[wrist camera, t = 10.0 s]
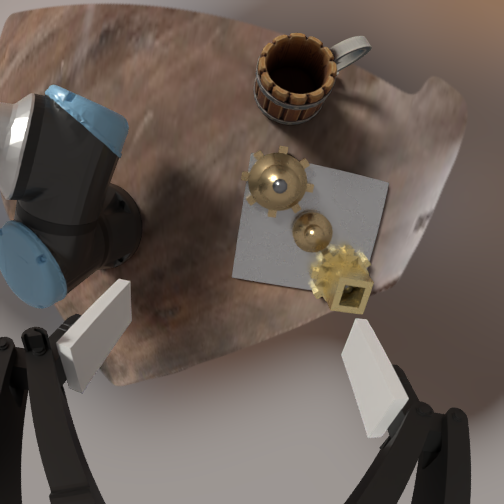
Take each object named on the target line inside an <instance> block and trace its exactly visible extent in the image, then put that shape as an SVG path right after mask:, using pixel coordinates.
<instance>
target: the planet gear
mask: <svg viewBox="0 0 504 504" xmlns="http://www.w3.org/2000/svg"><path fill="white" fill-rule="evenodd" d="M354 250H355V249H354V248H353V247H352V246H350V245H345V244H344V248H343V250H338V249H336V250H334V251H333V252H331V253H330V252H329V250H328V248H327V249H325V250H324V251H322V252H321V253H322V255H323V257H324V258H322V259H321V260H319V261H318V264H317V267H310V272H309V275H310V278H313V279H314V280H313V281H314V284H315V287H314V288H312V291H313V294H314V296H315V297H316V299H319V298H320V297H322V296H323V298H324V299H325V301H327V303H328V306H329V308H330V310H331V311H339V312H348V313H355V314H363V312H364V310H365V307H366V304H367V301H368V298H369V296H370V293H371V290H372V287H373V283H374V282H373V281H372V280H371V278H370V277H369V276H368V275H369V273H368V271H367V269H366V268H367V267H368V266H370V265H371V264H370V262H369V260H368V259H367V257H366V256H365V255H363V256H362V257H359V256H358V254H357V253H355V252H354ZM345 285H349V286H353V289H352V291H351V292H349V293H344V292H343V290H344V287H345Z"/></svg>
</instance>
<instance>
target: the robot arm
mask: <svg viewBox="0 0 504 504" xmlns="http://www.w3.org/2000/svg"><path fill="white" fill-rule="evenodd" d="M45 94H46V95H45V96H42V95H38V94H33V93H31V94H29V95H27V96H26V97H24V98H23V99H21V100H20V101H19V102H17V103H15V104H8V103H2V102H0V191H1V192H2V194H3V195H4V197H5V198H6V199H8V200H17V204H16V211H15V217H14V220H11V221H8V222H7V223H5V225H4V226H3V227H2V228H1V229H0V270H1V273H2V275H3V277H4V278H5V280H6V282H7V284H8V285H9V287H10V288H11V289H12V291H13V292H14V293H15V294H16V295H17V296H18V297H19V298H20V299H21V300H22V301H24V302H25V303H27V304H28V305H30V306H32V307H35V308H46V307H50V306H51V305H53V304H55V303H56V302H58V301H60V300H62V299H64V297H66V295H67V294H68V293H69V292H70V291H71V290H73V289H74V288H75V287H76V286H78V285H79V284H80V283H81V282H83V281H84V280H85V279H86V278H88V277H89V276H90V275H92V274H93V273H94V272H95V271H97V270H101V269H109V268H114V267H117V266H119V265H121V264H123V263H124V262H125V261H127V260H128V259H129V258H130V257H131V256H132V255H133V254H134V253H135V251H136V250H137V248H138V246H139V243H140V240H141V234H142V223H141V217H140V213H139V210H138V208H137V206H136V204H135V202H134V200H133V199H132V198H131V196H130V195H129V194H128V193H127V192H126V191H125V190H123V189H122V188H121V187H119V186H117V185H114V184H111V183H110V182H111V179H112V176H113V173H114V170H115V168H116V165H117V162H118V160H119V158H121V156H122V154H121V151H122V148H123V145H124V142H125V139H126V136H127V134H128V130H129V126H128V122H127V120H126V119H125V118H124V117H123V116H122V115H120V114H118V113H116V112H114V111H112V110H110V109H108V108H106V107H103V106H101V105H99V104H97V103H95V102H93V101H90V100H88V99H86V98H84V97H82V96H79V95H77V94H75V93H73V92H70V91H68V90H66V89H64V88H61V87H59V86H57V85H51V86H50V87H49V88H48V89H47V90H46V92H45ZM131 321H132V315H131V281H127V280H123V279H118V280H117V281H116V282H115V283H114V284H113V285H112V286H111V287H110V288H109V289H108V290H107V291H106V292H105V293H104V294H103V295H102V296H101V297H100V298H99V299H98V300H97V301H96V302H95V303H94V304H93V305H92V306H91V307H90V308H89V309H88V310H87V311H86V312H85V313H84V314H83V315H79V314H75V315H73V316H71V317H69V318H68V319H67V320H66V321H65V322H64V323H63V324H62V325H61V326H60V327H59V329H57V330H56V331H55V332H54V333H53V334H52V335H51V336H50V337H49V338H48V334H47V331H46V330H44V329H43V328H40V327H32V328H29V329H27V330H25V331H24V332H23V334H22V336H21V338H22V342H23V345H24V348H18V347H15V345H14V342H13V340H12V339H10V338H8V337H1V338H0V504H22V496H21V453H22V437H23V426H24V417H25V409H26V402H27V396H28V390H29V396H30V403H31V410H32V417H33V423H34V428H35V433H36V438H37V443H38V447H39V451H40V455H41V459H42V463H43V466H44V470H45V473H46V477H47V480H48V483H49V486H50V490H51V494H50V495H49V498H50V502H51V504H105V502H104V500H103V498H102V496H101V494H100V491H99V489H98V487H97V485H96V483H95V480H94V478H93V476H92V473H91V471H90V469H89V466H88V464H87V462H86V459H85V456H84V453H83V450H82V448H81V445H80V442H79V439H78V436H77V433H76V430H75V427H74V424H73V420H72V417H71V414H70V410H69V407H68V403H67V399H66V395H65V391H64V388H63V384H64V383H65V381H66V380H67V383H68V386H69V388H70V389H72V390H75V391H77V392H80V393H83V392H84V390H85V389H86V388H87V386H88V384H89V383H90V381H91V380H92V378H93V377H94V375H95V374H96V372H97V371H98V369H99V368H100V366H101V365H102V363H103V362H104V360H105V359H106V357H107V356H108V354H109V353H110V351H111V350H112V349H113V347H114V346H115V344H116V343H117V341H118V340H119V338H120V337H121V336H122V334H123V333H124V331H125V330H126V328H127V327H128V326H129V324H130V323H131ZM341 356H342V359H343V362H344V364H345V368H346V370H347V374H348V377H349V380H350V383H351V386H352V389H353V392H354V395H355V398H356V401H357V404H358V407H359V411H360V413H361V417H362V420H363V424H364V427H365V430H366V434H367V437H368V438H376V437H382V436H383V435H384V433H385V432H386V431H387V430H388V432H389V437H388V438H387V439H386V440H385V442H384V443H383V444H382V446H381V447H380V449H381V450H380V451H379V453H378V455H377V456H376V458H375V459H374V461H373V463H372V464H371V466H370V467H369V469H368V470H367V472H366V474H365V475H364V477H363V478H362V480H361V481H360V483H359V484H358V485H357V487H356V488H355V490H354V491H353V492H352V494H351V495H350V496H349V498H348V499H347V501H346V502H345V503H344V504H397V502H398V500H399V498H400V497H401V495H402V493H403V491H404V489H405V487H406V485H407V483H408V481H409V479H410V476H411V474H412V472H413V470H414V468H415V465H416V463H417V461H418V467H417V474H416V480H415V486H414V492H413V497H412V502H411V504H470V496H471V456H470V439H469V427H468V418H467V415H466V414H465V413H464V412H463V411H462V410H461V409H458V408H450V409H449V410H448V411H447V413H446V414H440V413H434V411H433V409H432V408H431V407H430V406H429V405H428V404H426V403H424V402H420V401H419V399H418V398H417V396H416V394H415V392H414V390H413V388H412V386H411V384H410V382H409V381H408V379H407V377H406V375H405V373H404V371H403V370H402V369H401V368H400V367H399V366H398V365H392V364H391V363H390V361H389V359H388V357H387V355H386V353H385V351H384V350H383V348H382V346H381V344H380V342H379V340H378V339H377V337H376V335H375V333H374V331H373V329H372V328H371V326H370V324H369V322H368V320H367V319H358V318H356V319H355V321H354V324H353V326H352V329H351V332H350V334H349V337H348V339H347V342H346V345H345V347H344V349H343V352H342V354H341ZM418 458H419V459H418Z"/></svg>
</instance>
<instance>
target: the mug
mask: <svg viewBox="0 0 504 504" xmlns="http://www.w3.org/2000/svg"><path fill="white" fill-rule="evenodd" d="M371 48H372V47H371V45H370V44H369V42H368V41H367V39H366V38H365V37H364V36H356V37H353V38H350V39H347V40H345V41H342V42H340V43H338V44H336V45H335V46H333V47H331V48H330V49H329V48H327V47H323V43H322V42H321V41H320V40H318V39H316V38H314V37H308V38H307V37H306V36H305V35H304V34H301V33H292V34H290V36H287V35H281V36H278V37H276V38H275V39H273V42H272V43H268V44H267V45H266V46H265V47H264V49H263V51H262V53H261V55H260V57H259V59H258V62H257V68H256V79H255V84H254V98H255V101H256V103H257V105H258V107H259V109H260V110H261V111H262V112H263V114H264V115H266V116H267V117H268V118H270V119H271V120H273V121H276V122H278V123H281V124H287V125H293V124H300V123H303V122H306V121H308V120H310V119H311V118H313V117H314V116H315V115H316V114H317V113H318V112H319V111H320V109H321V107H322V105H323V103H324V101H325V99H326V98H327V97H328V95H329V94H330V93H331V91H332V89H333V86H334V84H335V80H336V76H337V75H338V74H339V72H338V71H340V70H342V69H344V68H345V67H347V66H349V65H351V64H352V63H354V62H356V61H357V60H359V59H360V58H362V57H363V56H364V55H366V54H367V53H368V52H369V51H370V50H371Z"/></svg>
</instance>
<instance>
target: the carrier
mask: <svg viewBox="0 0 504 504" xmlns="http://www.w3.org/2000/svg"><path fill="white" fill-rule="evenodd" d="M287 152H288V147H284V146H279V151H278V153H271V154H268V155H263V153H262V152H261V151H260V150H259V151H258V152H256V153H255V154H254V153H251V157H250V163H249V170H248V172H245V171H243V172H242V177H241V180H244V181H247V182H246V188H245V194H244V201H243V207H242V214H241V220H240V226H239V233H238V239H237V246H236V253H235V259H234V266H233V273H232V277H233V278H239V279H244V280H250V281H256V282H263V283H269V284H275V285H281V286H287V287H294V288H300V289H307V290H312V288H314V287H315V284H314V281H313V280H314V279H313V278H310V275H309V272H310V267H317V264H318V261H319V260H321V259H322V258H324V257H323V255H322V253H321V252H322V251H324V250H325V249H327V248H328V250H329V252H330V253H331V252H333V251H334V250H336V249H338V250H343V248H344V244H345V245H350V246H352V247H353V248H354V249H355V250H354V252H355V253H357V254H358V256H359V257H362V256H363V255H365V256H366V257H367V259H368V260H369V261H370V258H371V254H372V251H373V247H374V244H375V240H376V236H377V232H378V228H379V224H380V220H381V216H382V212H383V208H384V203H385V199H386V194H387V190H388V185H389V183H388V182H384V181H380V180H377V179H373V178H369V177H365V176H362V175H358V174H354V173H349V172H345V171H341V170H337V169H332V168H328V167H323V166H319V165H314V164H309V163H308V161H307V160H306V158H303V159H302V160H300V161H298V160H296V159H295V158H294V157H292V156H290V155H287ZM367 268H368V267H367ZM367 268H366V269H367ZM352 289H353V286H349V285H345V287H344V290H343V292H344V293H349V292H351V291H352Z"/></svg>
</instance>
